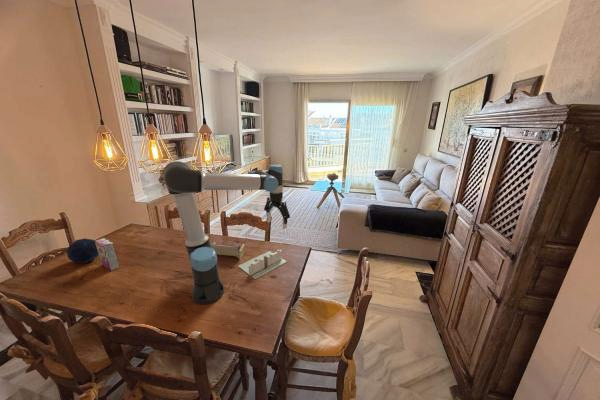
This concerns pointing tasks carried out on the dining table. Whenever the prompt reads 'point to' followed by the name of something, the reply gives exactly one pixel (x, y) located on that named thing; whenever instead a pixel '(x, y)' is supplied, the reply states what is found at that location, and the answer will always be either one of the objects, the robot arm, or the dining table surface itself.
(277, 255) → the fence hinged panel
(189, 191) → the robot arm
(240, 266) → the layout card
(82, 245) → the decorative orb
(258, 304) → the dining table surface
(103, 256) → the candy bar box
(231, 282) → the dining table surface
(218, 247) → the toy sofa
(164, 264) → the dining table surface
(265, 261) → the fence fixed panel
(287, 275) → the dining table surface
